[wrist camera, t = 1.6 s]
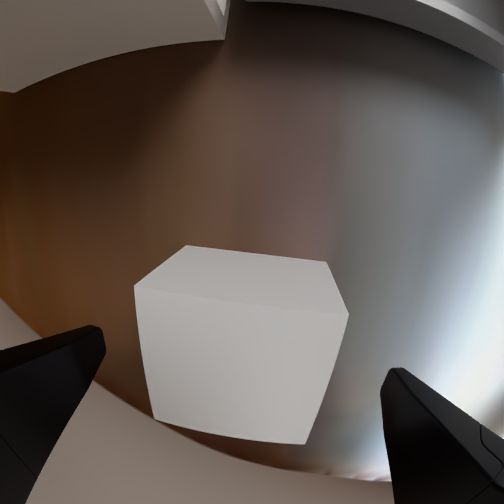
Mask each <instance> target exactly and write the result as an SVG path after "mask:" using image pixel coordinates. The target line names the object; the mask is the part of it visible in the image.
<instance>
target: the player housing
mask: <svg viewBox="0 0 504 504" xmlns="http://www.w3.org/2000/svg"><path fill="white" fill-rule="evenodd" d="M230 3H231V0H0V91H5V92H12V93H15V92H17V91H19V90H21V89H23V88H25V87H27V86H30V85H32V84H34V83H36V82H38V81H41V80H43V79H45V78H48V77H50V76H53V75H55V74H58V73H60V72H63V71H66V70H68V69H71V68H74V67H77V66H80V65H83V64H86V63H89V62H93V61H96V60H99V59H103V58H107V57H110V56H114V55H118V54H122V53H127V52H131V51H136V50H141V49H146V48H152V47H157V46H164V45H171V44H178V43H187V42H197V41H210V40H225V35H226V28H227V21H228V15H229V9H230Z"/></svg>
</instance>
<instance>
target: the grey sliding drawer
mask: <svg viewBox="0 0 504 504" xmlns="http://www.w3.org/2000/svg"><path fill="white" fill-rule="evenodd" d="M246 2H283V3H297V4H307V5H315V6H323V7H329V8H335V9H341V10H346V11H351V12H356V13H360V14H365V15H369V16H373V17H377V18H380V19H384V20H387V21H391V22H394V23H397V24H400V25H403V26H406V27H409V28H412V29H415V30H418V31H420V32H423V33H426V34H428V35H431V36H433V37H435V38H438V39H440V40H442V41H445V42H447V43H449V44H451V45H453V46H455V47H458V48H460V49H462V50H464V51H466V52H468V53H469V54H471V55H473V56H475V57H477V58H479V59H480V60H482V61H484V62H486V63H487V64H489V65H491V66H492V67H494V68H496V69H497V70H499V71H500V72H502V73H504V0H246Z"/></svg>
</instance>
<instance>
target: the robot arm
mask: <svg viewBox="0 0 504 504" xmlns="http://www.w3.org/2000/svg"><path fill="white" fill-rule="evenodd" d="M105 354H106V346H105V341H104V336H103V332H102V329H101V328H100V327H97V326H94V325H87V326H84V327H81V328H77V329H74V330H70V331H67V332H64V333H60V334H57V335H53V336H50V337H46V338H43V339H39V340H36V341H32V342H29V343H25V344H21V345H18V346H14V347H11V348H7V349H4V350H0V504H25V503H26V501H27V499H28V497H29V495H30V492H31V490H32V488H33V486H34V484H35V482H36V480H37V478H38V476H39V474H40V472H41V470H42V468H43V466H44V464H45V463H46V460H47V459H48V457H49V455H50V453H51V451H52V450H53V448H54V446H55V444H56V442H57V441H58V439H59V437H60V435H61V434H62V432H63V430H64V428H65V427H66V425H67V423H68V421H69V420H70V418H71V416H72V415H73V413H74V411H75V410H76V408H77V406H78V405H79V403H80V401H81V399H82V398H83V397H84V395H85V393H86V392H87V389H88V388H89V386H90V384H91V382H92V380H93V378H94V376H95V374H96V372H97V370H98V368H99V366H100V364H101V362H102V360H103V358H104V356H105ZM380 398H381V407H382V418H383V430H384V438H385V444H386V449H387V455H388V461H389V467H390V473H391V480H392V487H393V495H394V502H395V504H504V439H502V438H501V437H499V436H498V435H496V434H495V433H493V432H492V431H490V430H489V429H487V428H486V427H485V426H483V425H482V424H480V423H479V422H478V421H476V420H475V419H473V418H472V417H471V416H469V415H468V414H467V413H465V412H464V411H462V410H461V409H460V408H458V407H457V406H455V405H454V404H453V403H451V402H450V401H448V400H447V399H446V398H444V397H443V396H442V395H440V394H439V393H437V392H436V391H435V390H433V389H432V388H430V387H429V386H428V385H426V384H425V383H424V382H422V381H421V380H419V379H418V378H417V377H415V376H414V375H413V374H411V373H410V372H408V371H407V370H406V369H404V368H401V367H400V368H391V369H390V370H389V371H388V373H387V376H386V378H385V380H384V383H383V385H382V387H381V391H380Z"/></svg>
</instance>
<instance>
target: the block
mask: <svg viewBox="0 0 504 504" xmlns="http://www.w3.org/2000/svg"><path fill="white" fill-rule="evenodd" d="M134 292H135V303H136V313H137V322H138V330H139V338H140V345H141V352H142V359H143V365H144V371H145V376H146V382H147V387H148V392H149V397H150V402H151V406H152V411H153V415H154V419H156V420H159V421H162V422H166V423H170V424H173V425H177V426H181V427H185V428H189V429H193V430H198V431H202V432H207V433H212V434H217V435H223V436H228V437H234V438H241V439H248V440H256V441H264V442H274V443H287V444H305V443H306V441H307V438H308V436H309V433H310V431H311V429H312V426H313V424H314V421H315V418H316V416H317V413H318V411H319V408H320V405H321V403H322V400H323V397H324V394H325V391H326V389H327V386H328V383H329V380H330V377H331V374H332V371H333V368H334V365H335V361H336V358H337V355H338V352H339V348H340V345H341V342H342V338H343V335H344V331H345V327H346V324H347V320H348V316H349V314H348V312H347V309H346V307H345V304H344V302H343V300H342V297H341V295H340V292H339V290H338V288H337V285H336V283H335V281H334V279H333V276H332V274H331V272H330V269H329V267H328V265H327V263H326V262H322V261H314V260H305V259H297V258H288V257H280V256H271V255H263V254H255V253H246V252H238V251H229V250H221V249H212V248H204V247H195V246H187V245H186V246H185V247H183V248H182V249H181V250H179V251H178V252H177V253H175V254H174V255H173V256H171V257H170V258H169V259H168V260H166V261H165V262H164V263H162V264H161V265H160V266H158V267H157V268H156V269H155V270H153V271H152V272H151V273H149V274H148V275H147V276H146V277H144V278H143V279H142V280H141V281H139V282H138V283H137V284H135V285H134Z"/></svg>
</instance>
